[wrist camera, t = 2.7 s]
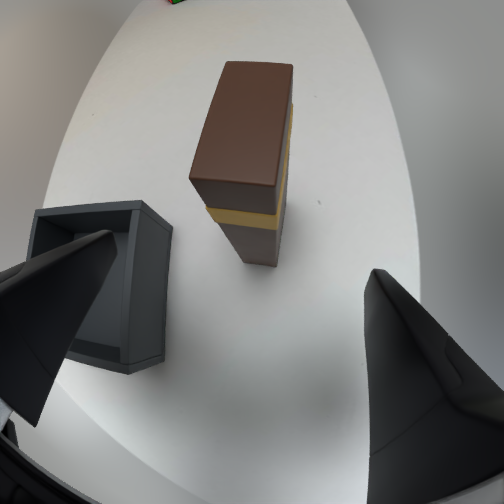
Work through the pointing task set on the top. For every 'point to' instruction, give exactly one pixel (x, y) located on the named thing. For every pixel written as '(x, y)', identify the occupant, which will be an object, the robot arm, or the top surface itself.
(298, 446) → the top surface
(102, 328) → the waste bin
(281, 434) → the top surface
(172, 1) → the rubik's cube
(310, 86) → the top surface
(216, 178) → the chocolate bar
